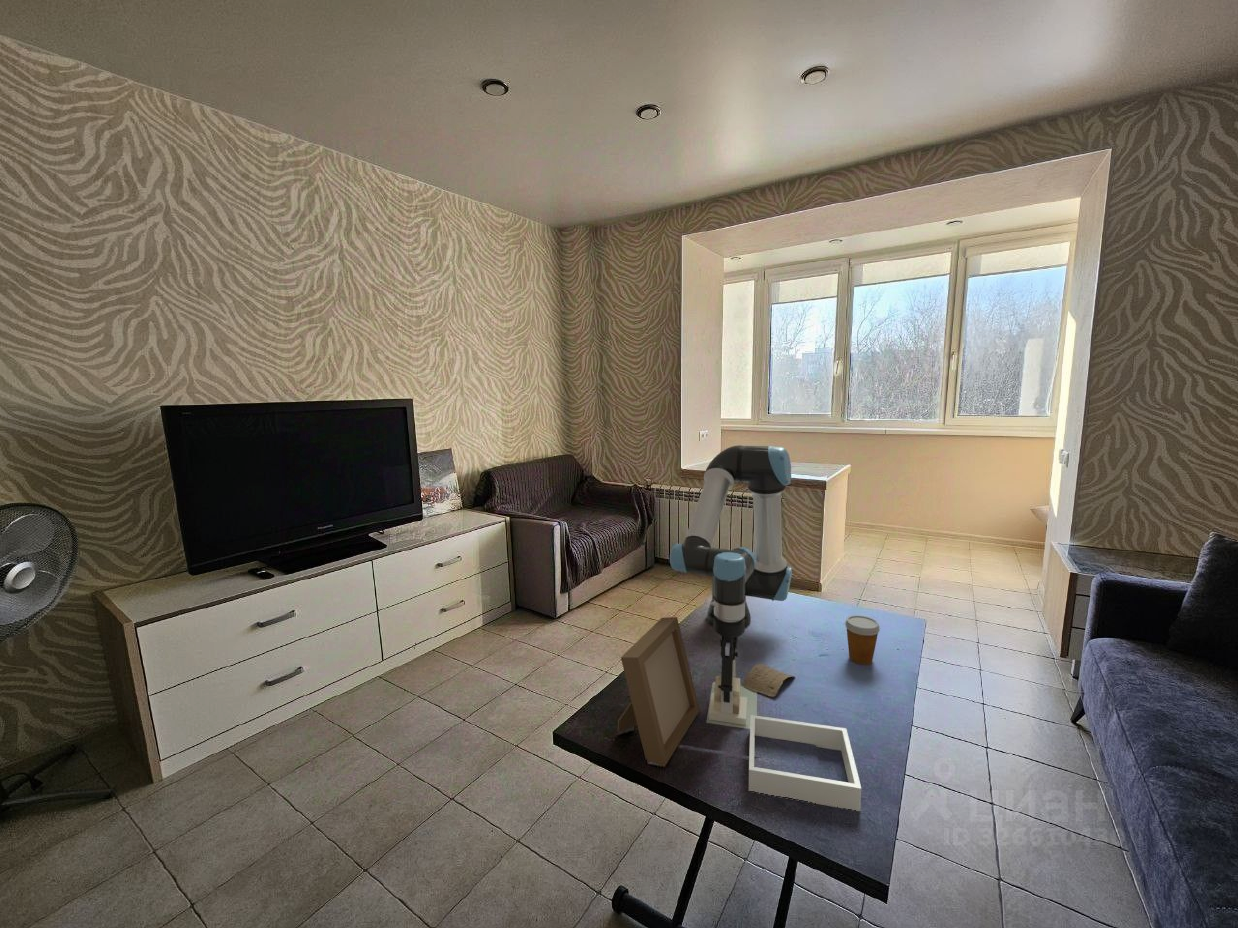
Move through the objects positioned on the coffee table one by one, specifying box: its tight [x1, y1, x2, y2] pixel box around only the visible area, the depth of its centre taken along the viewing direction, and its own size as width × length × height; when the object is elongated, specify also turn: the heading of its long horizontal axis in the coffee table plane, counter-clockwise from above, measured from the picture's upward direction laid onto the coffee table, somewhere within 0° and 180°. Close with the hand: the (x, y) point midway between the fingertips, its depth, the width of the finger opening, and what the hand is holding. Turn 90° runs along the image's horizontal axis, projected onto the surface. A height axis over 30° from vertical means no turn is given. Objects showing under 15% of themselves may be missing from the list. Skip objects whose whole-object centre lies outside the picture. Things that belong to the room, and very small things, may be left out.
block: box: [714, 674, 741, 714], centre depth 128 cm, size 6×6×6 cm
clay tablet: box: [742, 663, 794, 697], centre depth 142 cm, size 14×10×3 cm
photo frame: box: [617, 616, 700, 768], centre depth 121 cm, size 15×22×25 cm
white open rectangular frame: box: [748, 715, 862, 812], centre depth 109 cm, size 18×21×5 cm
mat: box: [705, 681, 758, 730], centre depth 132 cm, size 18×12×1 cm, turn 165°
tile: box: [708, 693, 747, 725], centre depth 129 cm, size 2×9×9 cm
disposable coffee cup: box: [844, 614, 881, 666], centre depth 152 cm, size 10×10×12 cm
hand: (728, 695), depth 128 cm, fingers open, 13 cm apart
